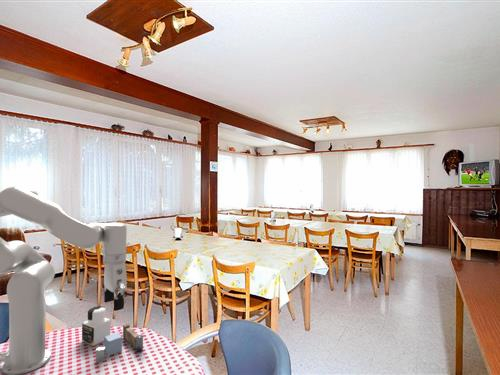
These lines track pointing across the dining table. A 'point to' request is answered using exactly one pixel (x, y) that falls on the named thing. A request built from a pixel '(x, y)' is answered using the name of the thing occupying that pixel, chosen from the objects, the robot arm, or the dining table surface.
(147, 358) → the dining table surface
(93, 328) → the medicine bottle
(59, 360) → the dining table surface
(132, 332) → the tan wooden plank
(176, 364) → the dining table surface
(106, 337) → the block
